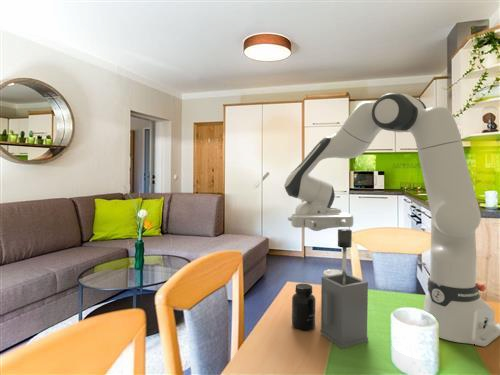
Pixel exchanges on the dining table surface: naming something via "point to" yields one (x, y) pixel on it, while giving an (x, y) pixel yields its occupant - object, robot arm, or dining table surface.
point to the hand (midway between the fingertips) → (329, 224)
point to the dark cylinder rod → (344, 248)
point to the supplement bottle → (303, 308)
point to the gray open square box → (344, 310)
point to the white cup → (332, 272)
